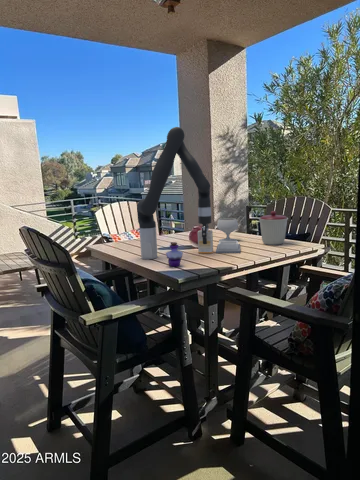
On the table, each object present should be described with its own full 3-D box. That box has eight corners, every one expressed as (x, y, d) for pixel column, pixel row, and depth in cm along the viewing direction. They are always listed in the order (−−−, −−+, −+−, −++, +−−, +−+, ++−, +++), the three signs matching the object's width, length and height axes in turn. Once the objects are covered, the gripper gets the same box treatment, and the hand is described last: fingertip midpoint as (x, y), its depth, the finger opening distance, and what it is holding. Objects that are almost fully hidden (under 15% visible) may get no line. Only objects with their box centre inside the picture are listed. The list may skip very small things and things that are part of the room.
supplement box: (213, 252, 206) (212, 230, 204) (211, 253, 202) (211, 231, 199) (199, 251, 208) (199, 230, 206) (198, 253, 204) (197, 231, 202)
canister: (255, 245, 219) (255, 212, 216) (262, 240, 235) (262, 209, 232) (285, 247, 212) (286, 212, 208) (289, 241, 228) (290, 209, 224)
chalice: (241, 242, 234) (240, 219, 231) (220, 243, 232) (220, 220, 230) (234, 238, 248) (234, 217, 245) (215, 239, 246) (215, 218, 243)
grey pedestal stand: (240, 253, 200) (240, 245, 199) (215, 253, 202) (215, 246, 201) (240, 245, 221) (240, 239, 220) (217, 246, 223) (217, 239, 223)
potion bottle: (174, 263, 183) (173, 240, 181) (186, 265, 177) (185, 241, 175) (162, 266, 177) (161, 243, 175) (175, 268, 171) (174, 244, 169)
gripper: (210, 216, 194) (211, 245, 196) (212, 213, 207) (212, 240, 210) (196, 216, 195) (197, 245, 198) (199, 214, 209) (200, 240, 212)
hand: (205, 242), depth 204 cm, fingers open, 8 cm apart
